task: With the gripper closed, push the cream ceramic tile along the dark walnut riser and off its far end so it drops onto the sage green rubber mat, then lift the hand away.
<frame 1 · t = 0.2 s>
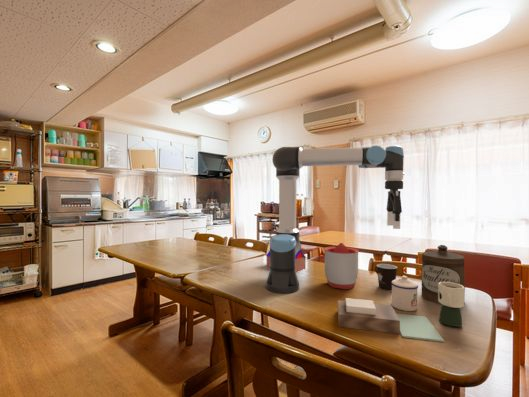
hand: (393, 227, 125), 28 cm above the table, tool pointing down, fingers open, 13 cm apart
house: (285, 268, 159), on the table
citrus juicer: (340, 285, 129), on the table
mat: (414, 326, 88), on the table
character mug: (450, 324, 90), on the table
riser: (366, 321, 91), on the table
coffee mug: (385, 287, 126), on the table
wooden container: (442, 299, 113), on the table
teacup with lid: (404, 306, 105), on the table
tile: (359, 309, 92), point 4 cm above the table, touching riser
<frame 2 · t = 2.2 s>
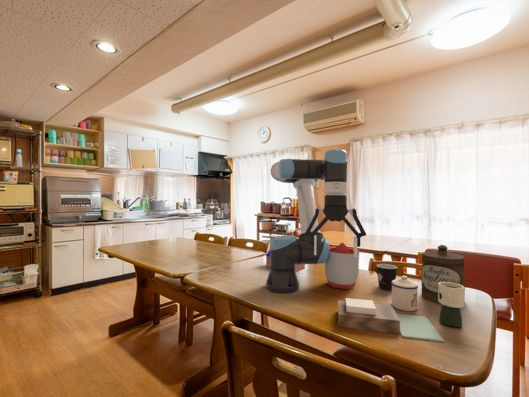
hand: (335, 255, 96), 21 cm above the table, tool pointing down, fingers open, 13 cm apart
nothing on the table moved.
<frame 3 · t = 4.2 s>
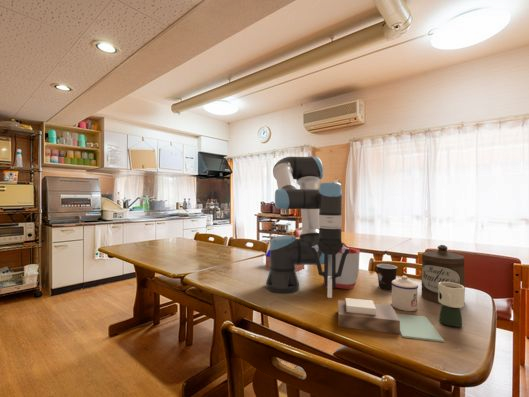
hand: (329, 296, 94), 8 cm above the table, tool pointing down, fingers closed
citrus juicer: (340, 284, 129), on the table, touching arm
everything else where it was.
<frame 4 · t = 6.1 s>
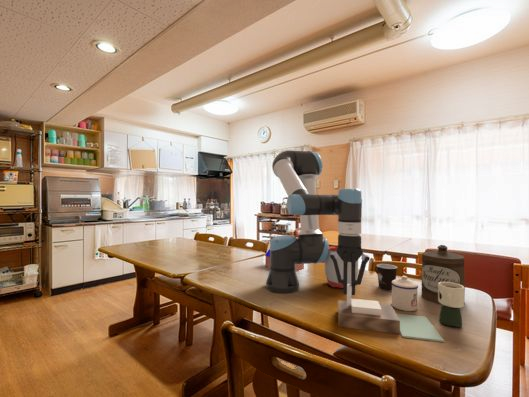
hand: (349, 304, 92), 5 cm above the table, tool pointing down, fingers closed
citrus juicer: (340, 284, 129), on the table
tile: (365, 309, 91), point 4 cm above the table, touching riser
everything else where it was.
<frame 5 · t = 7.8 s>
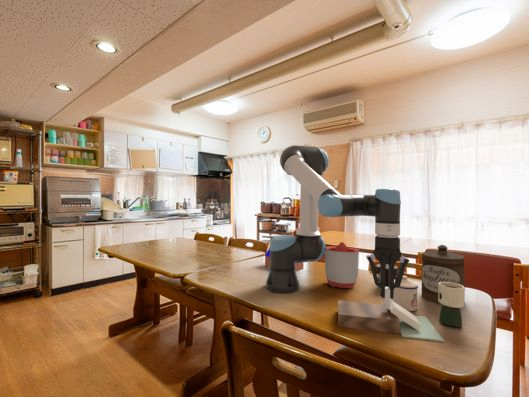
hand: (386, 307, 90), 5 cm above the table, tool pointing down, fingers closed
tile: (401, 316, 89), point 3 cm above the table, tilted 32°, touching gripper
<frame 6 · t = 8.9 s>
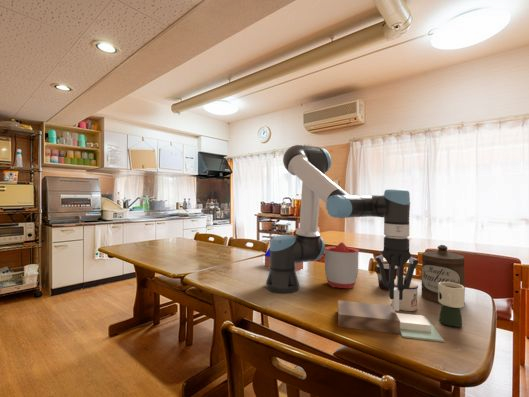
hand: (395, 308, 89), 5 cm above the table, tool pointing down, fingers closed
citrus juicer: (340, 284, 129), on the table, touching arm
tile: (411, 324, 88), resting on mat
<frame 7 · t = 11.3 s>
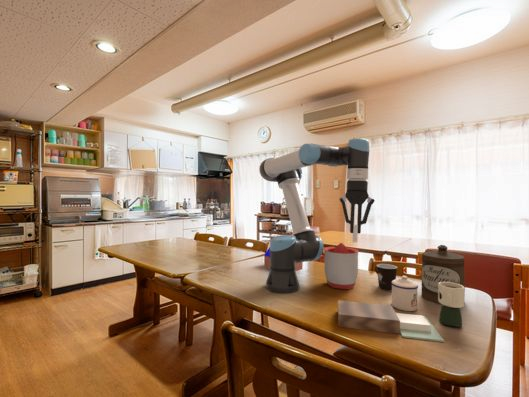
hand: (354, 241, 105), 24 cm above the table, tool pointing down, fingers closed
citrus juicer: (340, 285, 129), on the table
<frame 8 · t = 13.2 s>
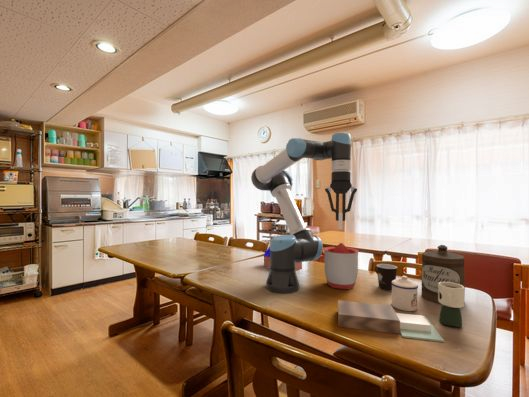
hand: (340, 228, 112), 28 cm above the table, tool pointing down, fingers closed
at the end: tile inside the target area (1.0 cm from its centre), point 0.5 cm above the table; tile moved 16.1 cm from its start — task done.
